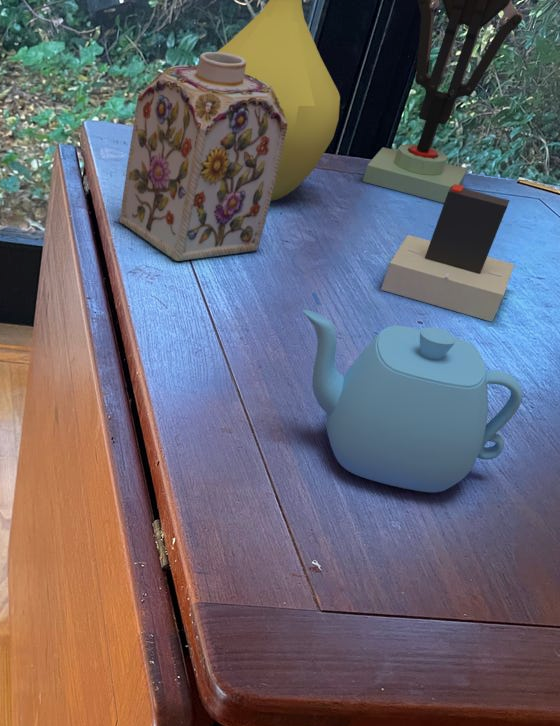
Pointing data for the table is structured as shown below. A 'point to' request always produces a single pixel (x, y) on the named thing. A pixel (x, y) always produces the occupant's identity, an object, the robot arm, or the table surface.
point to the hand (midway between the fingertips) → (423, 147)
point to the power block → (414, 173)
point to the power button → (423, 152)
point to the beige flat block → (447, 281)
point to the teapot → (410, 406)
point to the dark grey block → (466, 228)
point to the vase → (291, 86)
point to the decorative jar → (203, 159)
